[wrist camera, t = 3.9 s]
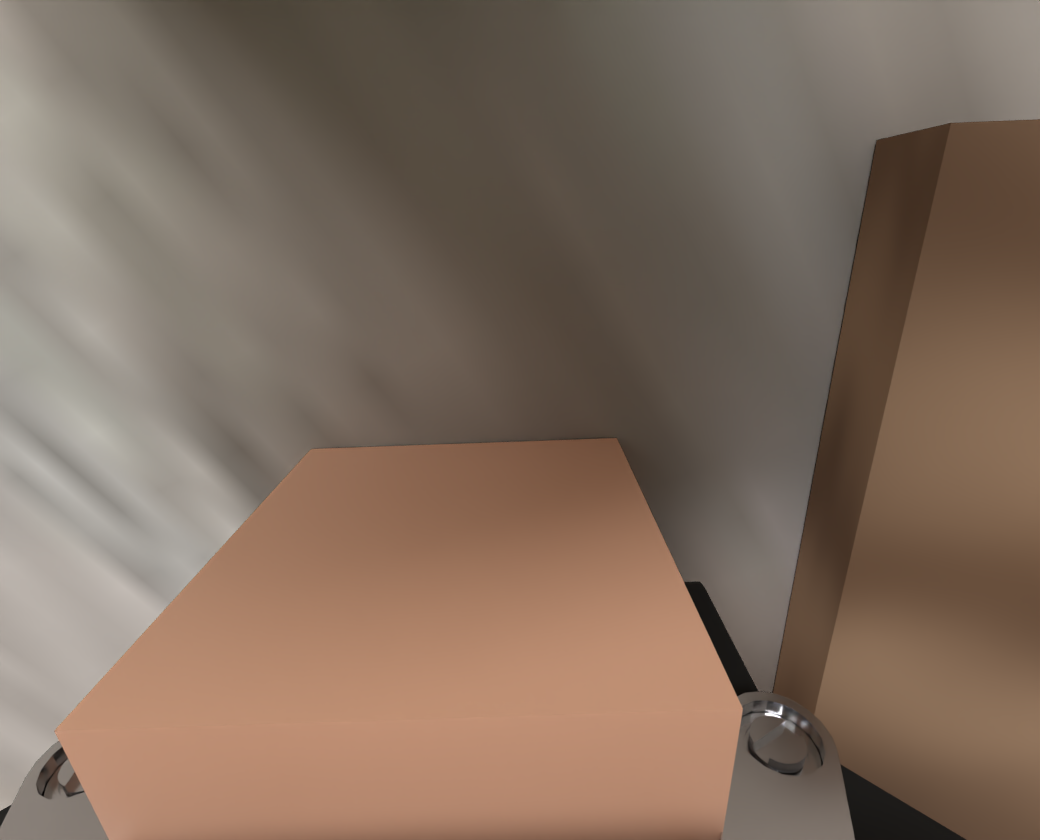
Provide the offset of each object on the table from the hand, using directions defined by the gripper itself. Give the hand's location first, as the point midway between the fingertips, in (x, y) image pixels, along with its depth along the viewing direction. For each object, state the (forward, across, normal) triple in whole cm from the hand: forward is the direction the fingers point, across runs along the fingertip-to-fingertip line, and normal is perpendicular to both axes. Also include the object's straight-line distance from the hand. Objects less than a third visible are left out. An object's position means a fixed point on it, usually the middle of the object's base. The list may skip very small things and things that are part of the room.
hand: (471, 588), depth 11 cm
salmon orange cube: (+1, 0, 0) cm, 1 cm away
